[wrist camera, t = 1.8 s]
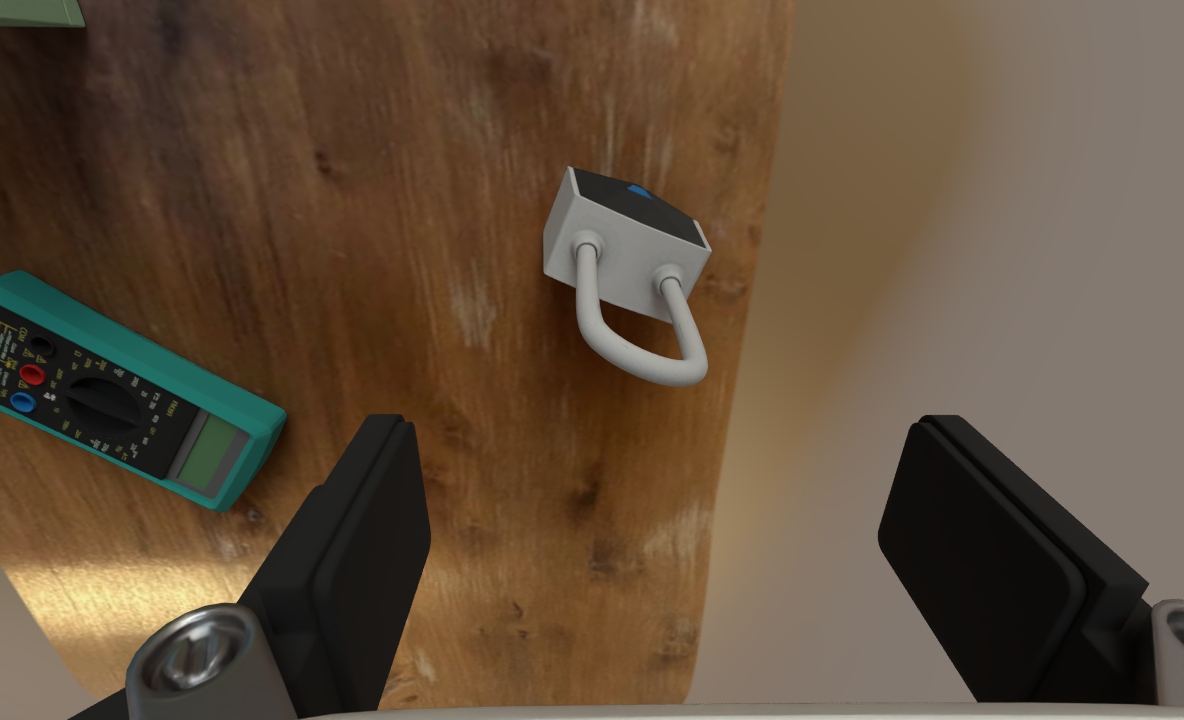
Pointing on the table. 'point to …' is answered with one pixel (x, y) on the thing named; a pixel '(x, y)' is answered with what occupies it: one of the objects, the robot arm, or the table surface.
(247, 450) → the digital multimeter
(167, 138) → the table surface
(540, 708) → the robot arm
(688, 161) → the table surface
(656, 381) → the padlock
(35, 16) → the holder
